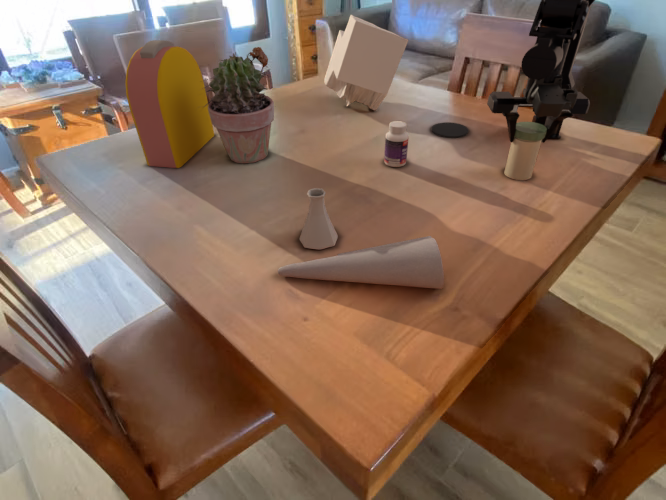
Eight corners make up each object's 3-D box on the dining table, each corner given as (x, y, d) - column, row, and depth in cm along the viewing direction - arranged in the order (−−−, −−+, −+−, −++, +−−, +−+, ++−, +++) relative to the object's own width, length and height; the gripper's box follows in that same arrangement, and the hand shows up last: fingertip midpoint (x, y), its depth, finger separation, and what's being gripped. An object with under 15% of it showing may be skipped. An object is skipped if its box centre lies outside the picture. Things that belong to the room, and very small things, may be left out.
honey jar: (527, 168, 100) (539, 125, 94) (535, 180, 96) (548, 135, 89) (501, 168, 101) (511, 125, 94) (508, 180, 96) (519, 136, 89)
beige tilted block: (320, 88, 143) (345, 7, 129) (364, 101, 147) (393, 25, 133) (326, 110, 127) (355, 20, 113) (375, 124, 132) (408, 39, 118)
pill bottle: (405, 168, 102) (409, 129, 96) (382, 166, 102) (384, 127, 97) (407, 158, 106) (410, 120, 100) (385, 157, 107) (387, 119, 101)
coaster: (465, 124, 122) (466, 122, 122) (470, 138, 114) (470, 136, 114) (430, 123, 123) (430, 122, 123) (432, 137, 116) (432, 135, 115)
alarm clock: (186, 132, 122) (161, 31, 106) (215, 134, 121) (194, 31, 105) (146, 165, 106) (109, 51, 90) (179, 168, 104) (148, 52, 88)
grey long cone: (268, 286, 63) (444, 262, 62) (272, 249, 70) (431, 227, 68) (280, 321, 68) (443, 299, 66) (283, 283, 75) (431, 263, 73)
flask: (299, 229, 82) (295, 183, 76) (336, 226, 83) (335, 181, 77) (299, 252, 77) (295, 204, 71) (339, 249, 77) (339, 201, 71)
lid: (515, 140, 90) (517, 133, 89) (509, 128, 95) (510, 121, 94) (548, 141, 89) (551, 133, 88) (539, 129, 95) (542, 121, 94)
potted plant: (192, 159, 108) (167, 53, 93) (253, 135, 120) (239, 37, 104) (235, 181, 99) (215, 67, 83) (297, 153, 110) (289, 48, 94)
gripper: (507, 78, 78) (490, 157, 87) (614, 78, 76) (585, 158, 86) (494, 62, 87) (480, 135, 96) (590, 62, 85) (566, 136, 95)
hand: (526, 141), depth 93 cm, fingers closed on lid, 6 cm apart
